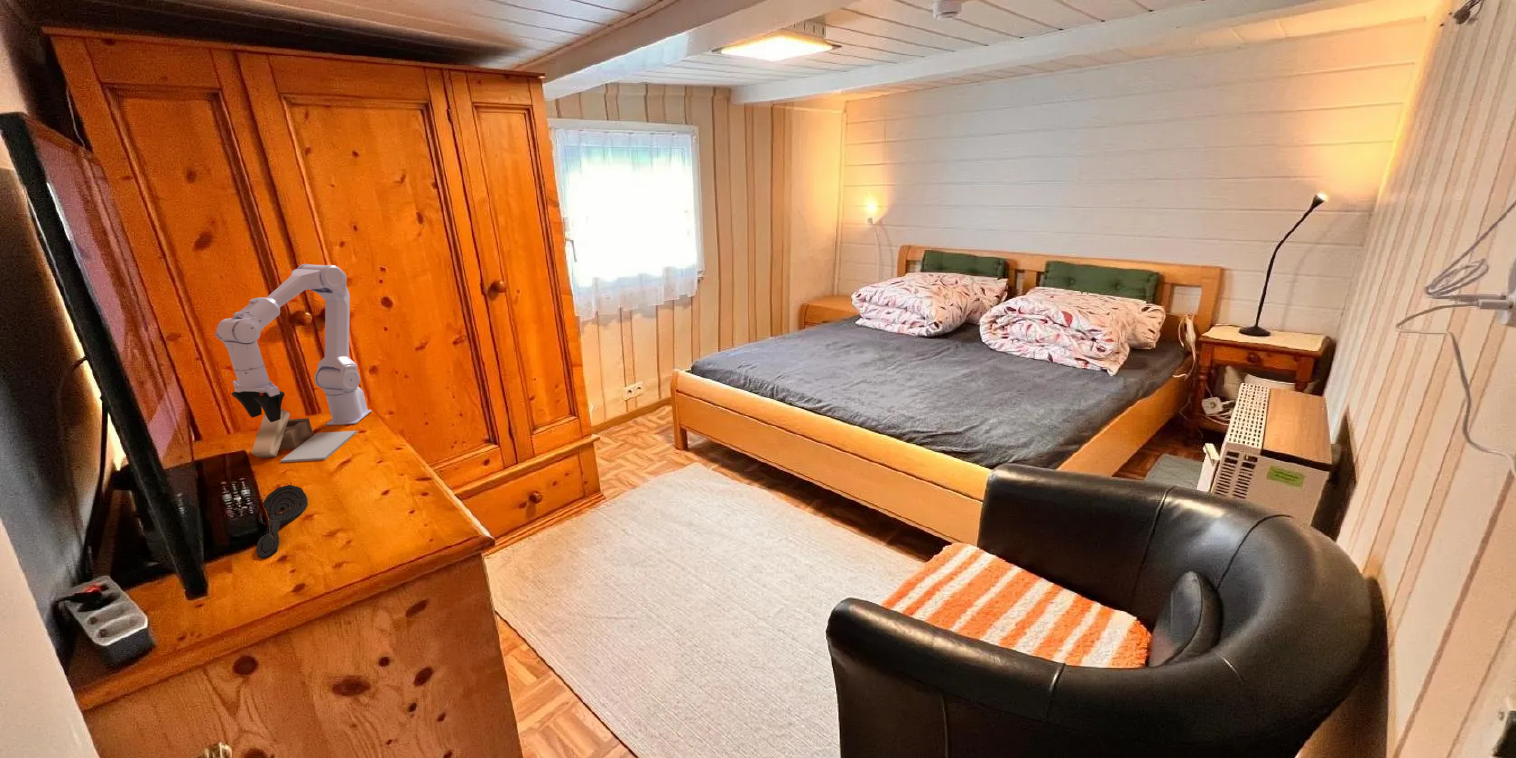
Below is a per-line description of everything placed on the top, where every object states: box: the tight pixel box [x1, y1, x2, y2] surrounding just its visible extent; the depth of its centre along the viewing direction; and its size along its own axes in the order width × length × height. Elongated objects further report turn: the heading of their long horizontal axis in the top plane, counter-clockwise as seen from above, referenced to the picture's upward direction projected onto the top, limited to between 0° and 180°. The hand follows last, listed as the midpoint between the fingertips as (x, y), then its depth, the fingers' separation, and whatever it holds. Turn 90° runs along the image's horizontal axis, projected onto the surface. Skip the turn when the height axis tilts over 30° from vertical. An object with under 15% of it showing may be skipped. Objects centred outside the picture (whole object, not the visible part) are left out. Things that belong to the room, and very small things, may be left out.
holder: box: [255, 417, 314, 450], centre depth 153 cm, size 8×8×5 cm
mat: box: [280, 430, 358, 464], centre depth 152 cm, size 16×10×1 cm, turn 8°
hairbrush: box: [256, 482, 309, 560], centre depth 118 cm, size 8×4×25 cm
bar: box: [251, 408, 291, 459], centre depth 148 cm, size 12×4×3 cm
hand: (265, 418), depth 146 cm, fingers open, 7 cm apart
